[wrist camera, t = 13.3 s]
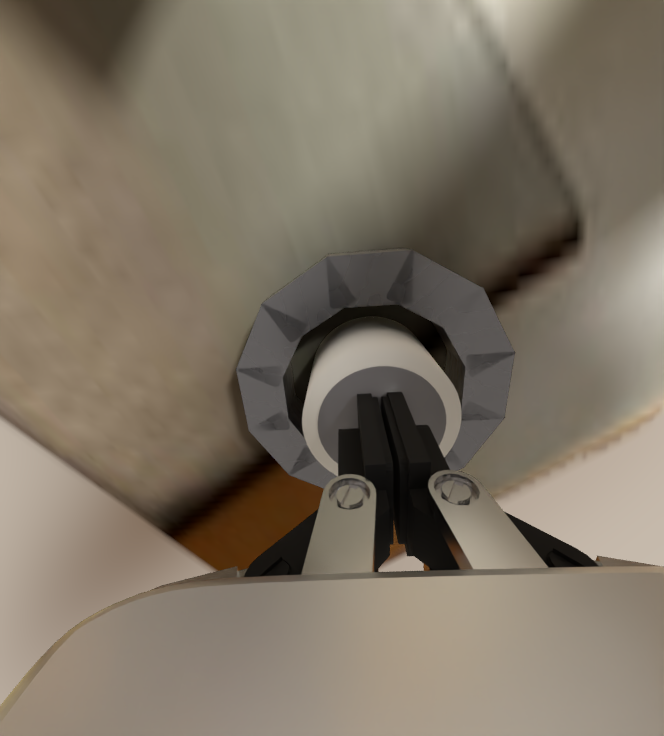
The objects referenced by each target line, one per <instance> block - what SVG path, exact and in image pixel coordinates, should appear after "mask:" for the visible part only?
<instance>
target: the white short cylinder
mask: <svg viewBox="0 0 664 736" xmlns="http://www.w3.org/2000/svg"><path fill="white" fill-rule="evenodd" d="M387 392H402V393H403V395H404V397H405V400H406V402H407V405H408V407H409V410H410V412H411V414H412V417H413V419H414V422H415V424H416V425H428V426H429V427H430V429H431V431H432V433H433V435H434V437H435V439H436V441H437V444H438V446H439V448H440V450H441V452H442V454H443V456H444V457H445V456H446V455H447V454H448V452H449V451H450V449H451V448H452V447H453V445H454V443H455V441H456V439H457V436H458V433H459V430H460V425H461V404H460V400H459V397H458V393H457V391H456V389H455V387H454V385H453V384H452V382H451V381H450V379H449V378H448V377H447V375H446V374H445V373H444V372H443V370H442V369H441V368H440V366H439V365H438V364H437V363H436V361H435V360H434V359H433V358H432V356H431V355H430V354H429V352H428V351H427V350H426V349H425V347H424V346H423V345H422V343H421V342H420V341H419V340H418V338H417V337H416V336H415V335H414V334H413V333H412V332H411V331H410V330H409V329H408V328H406V327H405V326H404V325H402V324H400V323H398V322H396V321H394V320H391V319H387V318H384V317H376V316H371V317H360V318H356V319H352V320H350V321H347V322H345V323H343V324H341V325H339V326H338V327H336V328H335V329H334V330H332V331H331V332H330V333H329V334H328V335H327V336H326V337H325V339H324V340H323V341H322V342H321V344H320V346H319V348H318V350H317V352H316V354H315V358H314V362H313V366H312V371H311V376H310V380H309V385H308V389H307V394H306V399H305V403H304V408H303V415H302V428H303V433H304V438H305V440H306V443H307V445H308V447H309V449H310V451H311V453H312V454H313V455H314V457H315V458H316V459H317V461H318V462H319V463H320V464H321V465H322V466H324V467H325V468H326V469H327V470H329V471H330V472H332V473H333V474H335V475H336V476H338V430H339V429H352V428H358V410H357V394H368V393H371V394H372V397H377V398H378V402H379V406H380V410H381V397H382V396H387Z"/></svg>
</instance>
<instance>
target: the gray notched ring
mask: <svg viewBox="0 0 664 736" xmlns="http://www.w3.org/2000/svg"><path fill="white" fill-rule="evenodd" d="M393 304H398V305H400V306H402V307H404V308H406V309H408V310H410V311H412V312H414V313H416V314H418V315H420V316H422V317H424V318H426V319H428V320H430V321H432V323H433V325H434V326H435V328H436V330H437V332H438V333H439V335H440V337H441V339H442V341H443V342H444V344H445V346H446V348H447V356H446V370H445V374H446V375H447V377H448V378H449V379H450V381H451V382H452V384H453V385H454V387H455V389H456V391H457V393H458V397H459V400H460V404H461V425H460V430H459V433H458V436H457V439H456V441H455V443H454V445H453V447H452V448H451V449H450V451H449V452H448V454H447V455H446V456H445V457H444V458H445V460H446V462H447V464H448V466H449V468H450V470H456V471H458V470H460V469H462V468H464V467H465V465H466V464H467V463H468V462H469V461H470V459H471V458H472V457H473V456H474V454H475V453H476V452H477V451H478V450H479V448H480V447H481V446H482V445H483V444H484V442H485V441H486V440H487V439H488V437H489V436H490V435H491V434H492V433H493V431H494V430H495V429H496V428H497V426H498V425H499V424H500V423H501V422H502V420H503V419H504V418H505V411H506V405H507V398H508V392H509V386H510V380H511V373H512V367H513V361H514V355H515V351H514V350H513V348H512V346H511V344H510V342H509V340H508V338H507V336H506V334H505V332H504V329H503V327H502V325H501V323H500V321H499V319H498V317H497V315H496V313H495V311H494V309H493V307H492V305H491V303H490V301H489V299H488V297H487V295H486V293H485V291H484V288H483V287H481V286H478V285H476V284H475V283H473V282H471V281H469V280H467V279H465V278H463V277H462V276H460V275H458V274H456V273H454V272H452V271H451V270H449V269H447V268H445V267H443V266H441V265H439V264H438V263H436V262H434V261H432V260H430V259H428V258H426V257H425V256H423V255H421V254H419V253H417V252H415V251H414V250H412V249H405V248H397V249H384V250H371V251H358V252H345V253H333V254H328V255H327V256H325V257H324V258H323V259H321V260H320V261H319V262H317V263H316V264H314V265H313V266H312V267H310V268H309V269H308V270H306V271H305V272H303V273H302V274H301V275H299V276H298V277H297V278H295V279H294V280H292V281H291V282H290V283H288V284H287V285H286V286H284V287H283V288H281V289H280V290H279V291H277V292H276V293H274V294H273V295H271V296H270V297H269V298H268V299H266V300H265V301H264V302H263V303H262V304H261V307H260V310H259V312H258V315H257V318H256V320H255V323H254V325H253V328H252V330H251V333H250V335H249V338H248V341H247V343H246V346H245V348H244V351H243V353H242V356H241V358H240V361H239V363H238V366H237V368H236V371H237V376H238V381H239V386H240V390H241V395H242V400H243V405H244V410H245V414H246V419H247V424H248V429H249V432H250V433H251V434H252V435H253V436H254V437H255V438H256V439H257V440H258V441H259V442H260V444H261V445H262V446H263V447H264V448H265V449H266V450H267V451H268V452H269V453H270V455H271V456H272V457H273V458H274V459H275V460H276V461H277V462H278V463H279V464H280V465H281V467H282V468H283V469H284V470H285V471H286V472H287V473H288V474H289V475H290V476H293V477H295V478H298V479H300V480H303V481H306V482H308V483H311V484H313V485H316V486H318V487H321V488H325V486H326V485H327V484H328V483H329V482H330V481H331V480H332V479H334V478H336V477H337V476H336V475H335V474H333V473H332V472H330V471H329V470H327V469H326V468H325V467H324V466H322V465H321V464H320V463H319V462H318V461H317V459H316V458H315V457H314V455H313V454H312V453H311V451H310V449H309V447H308V445H307V443H306V440H305V438H304V433H303V428H302V415H303V408H304V404H303V403H302V402H301V401H300V399H299V398H298V397H297V396H296V394H295V386H294V379H293V371H292V364H291V358H292V356H293V354H294V352H295V350H296V348H297V345H298V343H299V341H300V339H301V337H302V336H303V335H304V334H306V333H307V332H309V331H310V330H312V329H313V328H315V327H316V326H318V325H319V324H321V323H322V322H324V321H325V320H327V319H328V318H330V317H331V316H333V315H334V314H336V313H337V312H339V311H340V310H342V309H343V308H350V307H364V306H379V305H393Z"/></svg>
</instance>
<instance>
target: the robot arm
mask: <svg viewBox="0 0 664 736" xmlns="http://www.w3.org/2000/svg"><path fill="white" fill-rule="evenodd" d="M357 410H358V428H352V429H339V430H338V476H337V477H336V478H334V479H332V480H331V481H330V482H329V483H328V484H327V485H326V486H325V488H324V491H323V494H322V498H321V502H320V505H319V509H318V510H317V511H315V512H314V513H313V514H312V515H310V516H309V517H308V518H307V519H305V520H304V521H303V522H301V523H300V524H299V525H298V526H296V527H295V528H294V529H293V530H291V531H290V532H289V533H288V534H286V535H285V536H284V537H283V538H281V539H280V540H279V541H278V542H276V543H275V544H274V545H273V546H271V547H270V548H269V549H268V550H266V551H265V552H264V553H262V554H261V555H260V556H259V557H257V558H256V559H255V560H254V561H253V562H252V564H251V565H250V566H249V568H248V569H244V570H240V571H239V570H238V567H237V566H236V567H232V568H228V569H225V570H221V571H217V572H213V573H209V574H205V575H202V576H197V577H194V578H190V579H185V580H182V581H178V582H174V583H170V584H166V585H162V586H160V587H157V588H155V589H152V590H150V591H147V592H144V593H140V594H138V595H135V596H133V597H130V598H128V599H125V600H123V601H120V602H118V603H115V604H113V605H111V606H109V607H107V608H105V609H103V610H101V611H99V612H97V613H95V614H94V615H92V616H90V617H88V618H87V619H85V620H83V621H82V622H80V623H79V624H77V625H76V626H75V627H73V628H72V629H71V630H69V631H68V632H67V633H66V634H64V635H63V636H62V637H61V638H60V639H59V640H58V641H57V642H55V643H54V645H52V646H51V647H50V648H49V649H48V651H47V652H46V653H45V654H44V655H43V656H42V657H41V658H40V659H39V660H38V661H37V662H36V663H35V664H34V666H33V667H32V668H31V669H30V670H29V671H28V672H27V674H26V675H25V676H24V677H23V678H22V680H21V681H20V682H19V683H18V685H17V686H16V687H15V688H14V689H13V691H12V692H11V693H10V694H9V696H8V697H7V698H6V699H5V700H4V702H3V703H2V704H1V705H0V736H664V566H655V565H650V564H644V563H638V562H632V561H626V560H620V559H614V558H608V557H602V556H597V558H596V561H594V560H592V559H591V558H589V557H588V556H587V555H586V554H584V553H583V552H581V551H579V550H578V549H576V548H574V547H572V546H571V545H569V544H566V543H565V542H563V541H561V540H559V539H557V538H555V537H553V536H551V535H549V534H547V533H545V532H543V531H541V530H539V529H537V528H535V527H533V526H531V525H529V524H527V523H525V522H524V521H522V520H520V519H518V518H515V517H514V516H512V515H510V514H508V513H506V512H504V511H503V510H502V509H501V508H500V506H499V505H498V504H497V503H496V501H495V500H494V499H493V498H492V496H491V495H490V494H489V493H488V491H487V490H486V489H485V487H484V486H483V485H482V484H481V483H480V482H479V481H478V480H477V479H476V478H474V477H472V476H471V475H469V474H467V473H464V472H461V471H456V470H450V468H449V466H448V464H447V462H446V460H445V458H444V456H443V454H442V452H441V450H440V448H439V446H438V444H437V441H436V439H435V437H434V435H433V433H432V431H431V429H430V427H429V426H428V425H416V424H415V422H414V419H413V417H412V414H411V412H410V410H409V407H408V405H407V402H406V400H405V397H404V395H403V393H402V392H387V396H382V397H381V410H380V406H379V402H378V398H377V397H372V394H371V393H368V394H357ZM393 519H394V524H395V529H396V535H397V540H398V543H399V544H405V548H406V552H407V556H415V557H416V558H418V559H419V560H420V561H422V562H423V563H424V571H404V572H403V571H402V572H378V568H379V567H380V566H381V565H382V564H383V563H384V561H385V560H386V559H387V558H388V557H389V556H390V544H393Z"/></svg>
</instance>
